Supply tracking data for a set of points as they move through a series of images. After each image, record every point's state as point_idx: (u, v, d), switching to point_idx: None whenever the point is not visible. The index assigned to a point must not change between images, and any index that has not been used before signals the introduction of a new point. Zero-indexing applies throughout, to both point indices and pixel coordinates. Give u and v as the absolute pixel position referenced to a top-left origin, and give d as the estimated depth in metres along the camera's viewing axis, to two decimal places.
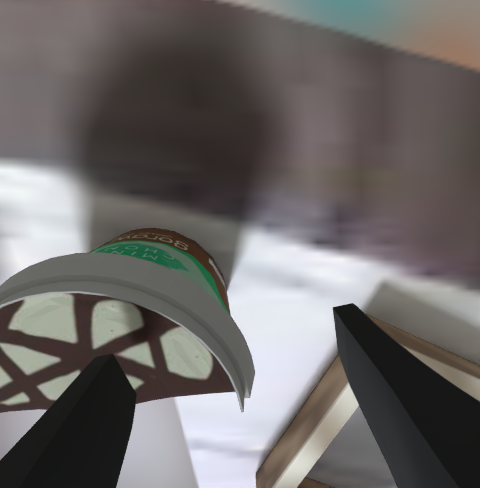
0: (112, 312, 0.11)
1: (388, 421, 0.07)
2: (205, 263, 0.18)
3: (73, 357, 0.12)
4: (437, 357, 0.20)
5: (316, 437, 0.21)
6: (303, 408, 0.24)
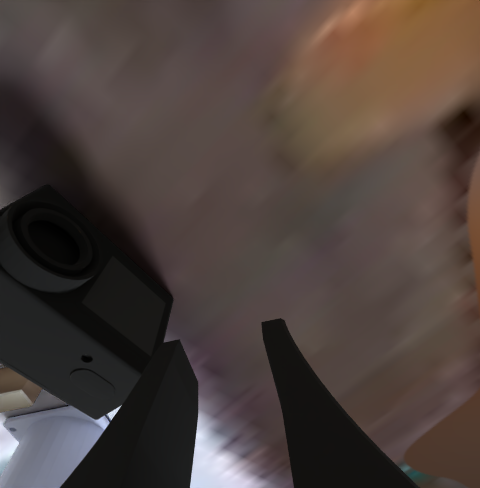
0: None
1: None
2: None
3: None
4: None
5: None
6: None
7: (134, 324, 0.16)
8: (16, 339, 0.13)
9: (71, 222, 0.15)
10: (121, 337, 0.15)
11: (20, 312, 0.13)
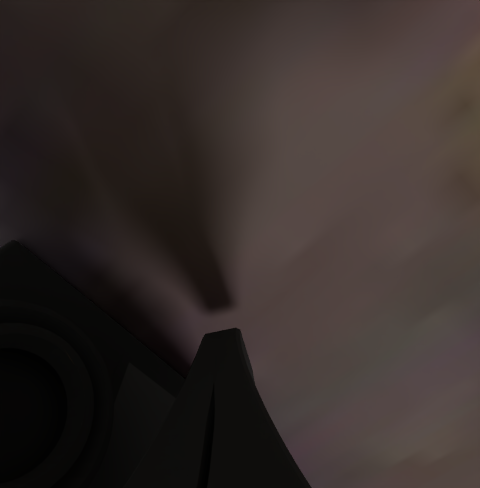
0: None
1: None
2: None
3: None
4: None
5: None
6: None
7: None
8: None
9: (52, 339, 0.07)
10: None
11: None
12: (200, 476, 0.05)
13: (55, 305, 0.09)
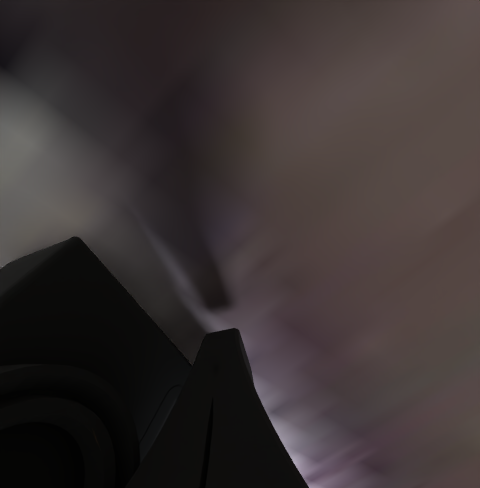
0: None
1: None
2: None
3: None
4: None
5: None
6: None
7: None
8: None
9: (79, 415, 0.06)
10: None
11: None
12: (203, 476, 0.05)
13: (107, 328, 0.08)
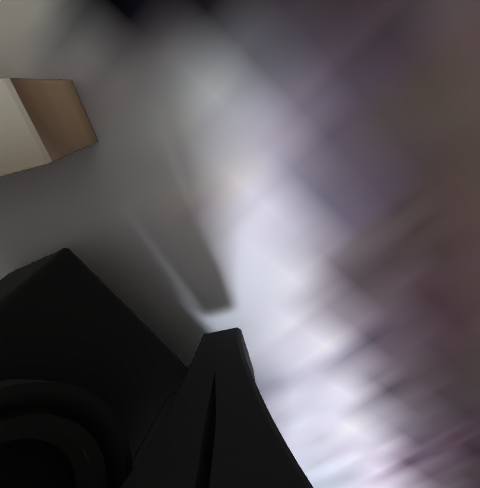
0: None
1: None
2: None
3: None
4: None
5: None
6: None
7: None
8: None
9: (67, 431, 0.06)
10: None
11: None
12: (198, 476, 0.05)
13: (100, 339, 0.08)
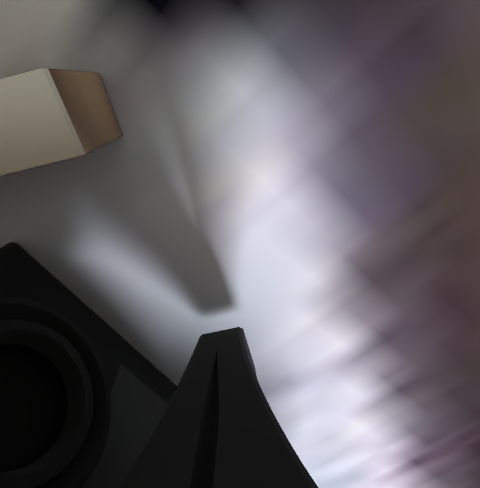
0: None
1: None
2: None
3: None
4: None
5: None
6: None
7: None
8: None
9: (54, 337, 0.08)
10: None
11: None
12: (193, 477, 0.05)
13: (51, 306, 0.10)
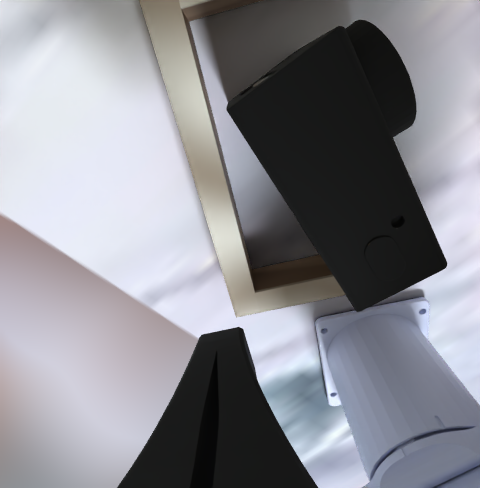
0: None
1: None
2: None
3: None
4: None
5: (204, 188, 0.16)
6: None
7: None
8: (335, 187, 0.11)
9: None
10: None
11: (361, 146, 0.11)
12: (193, 477, 0.05)
13: None
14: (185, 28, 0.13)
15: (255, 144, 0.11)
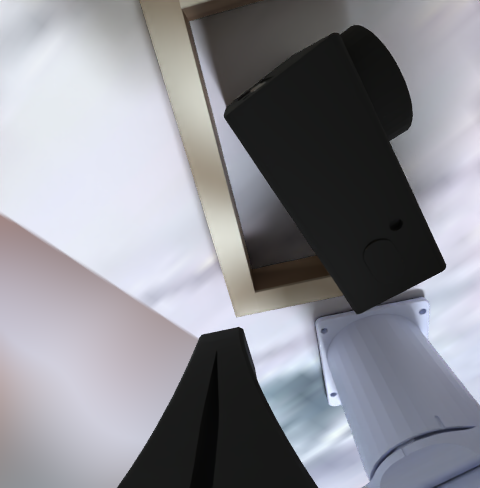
0: None
1: None
2: None
3: None
4: None
5: (204, 188, 0.16)
6: None
7: None
8: (333, 191, 0.12)
9: None
10: None
11: (358, 150, 0.11)
12: (193, 477, 0.05)
13: None
14: (185, 28, 0.13)
15: (252, 150, 0.11)
